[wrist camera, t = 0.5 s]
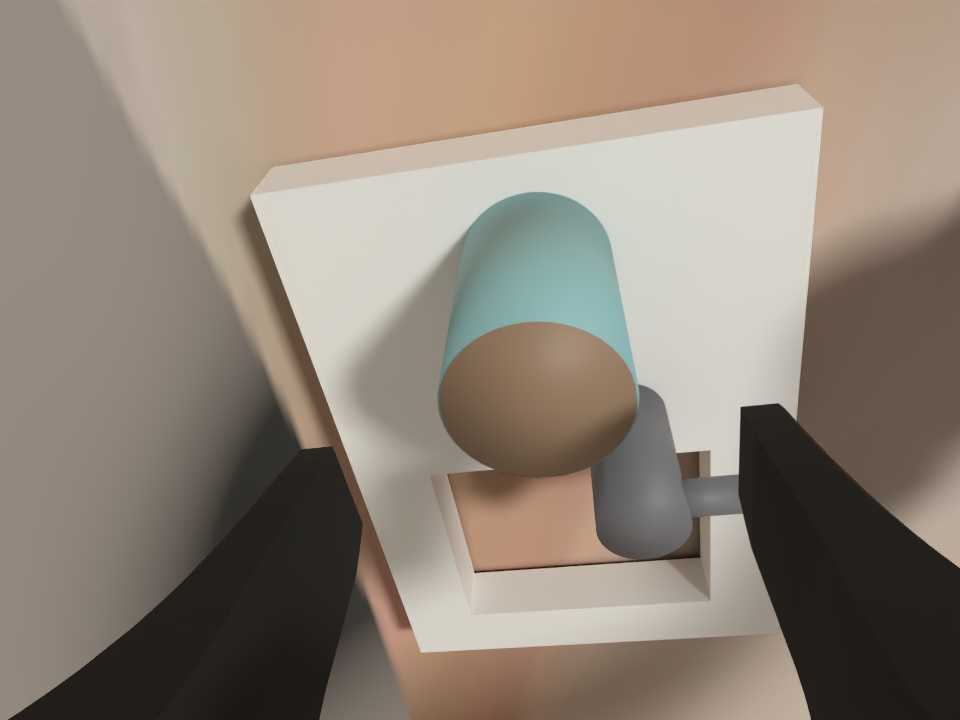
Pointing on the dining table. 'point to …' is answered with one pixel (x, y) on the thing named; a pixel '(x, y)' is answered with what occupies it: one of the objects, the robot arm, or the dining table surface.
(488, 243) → the cylinder
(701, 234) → the white box with opening
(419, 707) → the dining table surface
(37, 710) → the robot arm
